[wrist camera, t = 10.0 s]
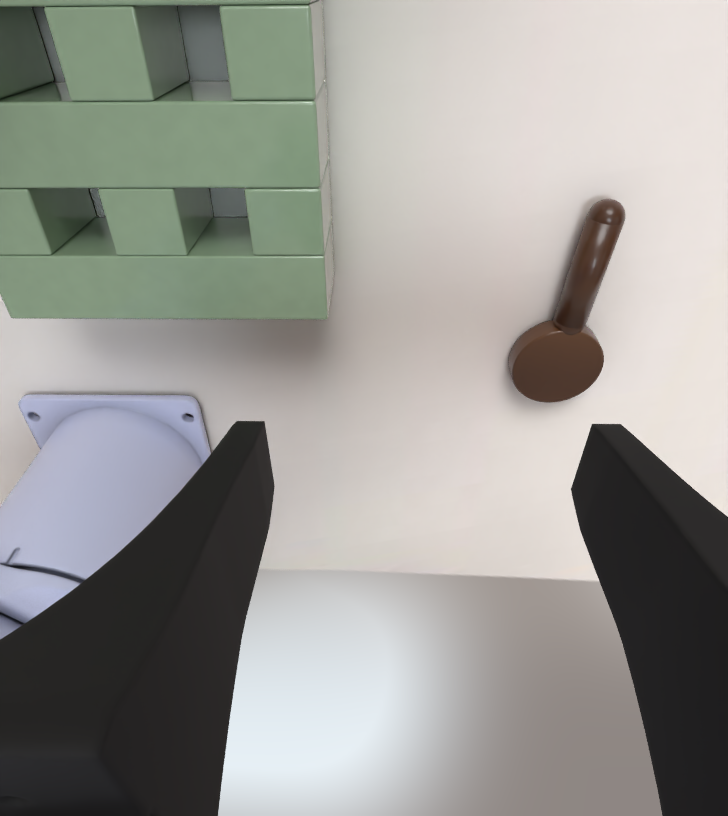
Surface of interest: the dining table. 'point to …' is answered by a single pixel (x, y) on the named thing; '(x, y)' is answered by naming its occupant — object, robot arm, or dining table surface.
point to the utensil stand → (163, 164)
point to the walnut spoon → (570, 319)
